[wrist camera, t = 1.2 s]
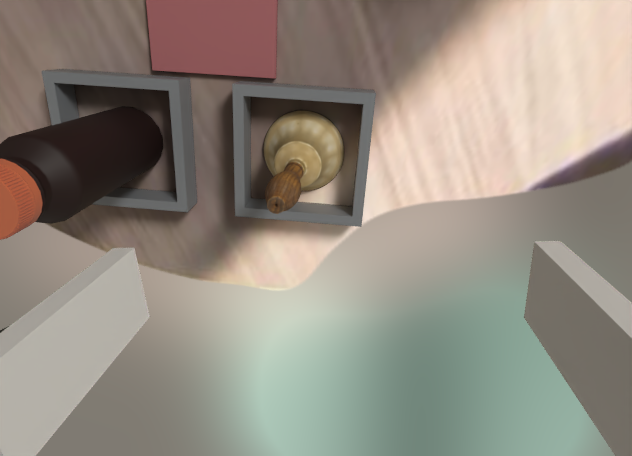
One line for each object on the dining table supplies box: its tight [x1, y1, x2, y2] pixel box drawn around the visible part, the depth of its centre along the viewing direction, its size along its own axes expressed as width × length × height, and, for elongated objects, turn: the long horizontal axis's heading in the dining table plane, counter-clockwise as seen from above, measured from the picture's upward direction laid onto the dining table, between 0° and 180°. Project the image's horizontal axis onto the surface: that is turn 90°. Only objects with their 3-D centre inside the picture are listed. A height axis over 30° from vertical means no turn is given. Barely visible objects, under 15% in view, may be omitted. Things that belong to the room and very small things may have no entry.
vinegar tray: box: [42, 69, 197, 212], centre depth 43 cm, size 13×13×3 cm
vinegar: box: [0, 106, 163, 240], centre depth 36 cm, size 7×7×20 cm
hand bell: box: [264, 111, 344, 214], centre depth 37 cm, size 8×8×16 cm
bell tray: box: [232, 81, 376, 227], centre depth 42 cm, size 13×13×3 cm
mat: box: [146, 0, 278, 78], centre depth 39 cm, size 12×12×1 cm
